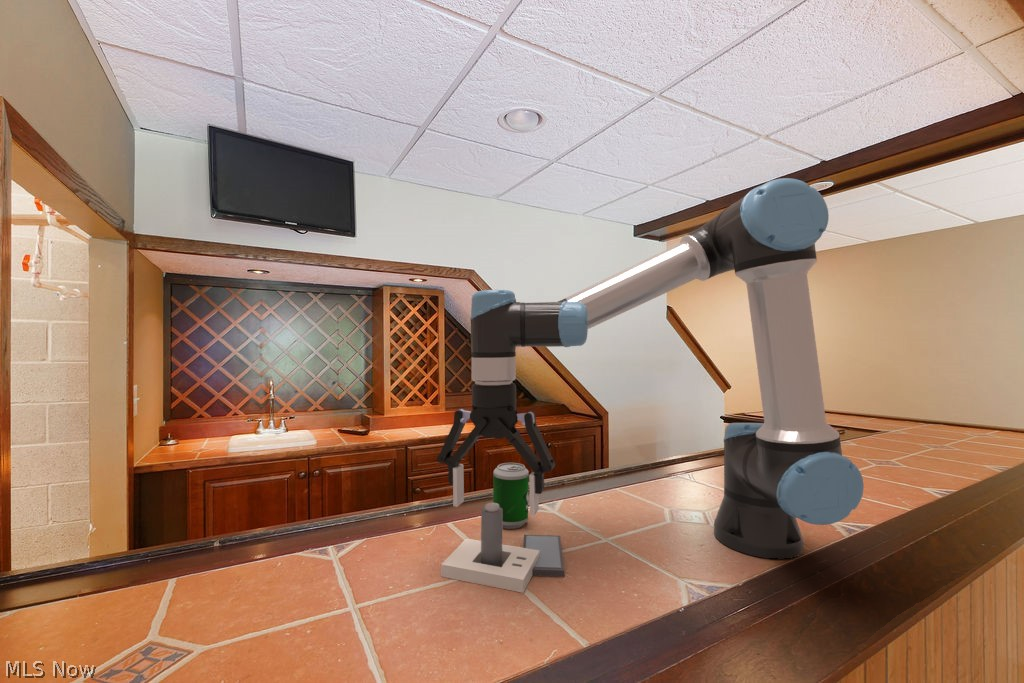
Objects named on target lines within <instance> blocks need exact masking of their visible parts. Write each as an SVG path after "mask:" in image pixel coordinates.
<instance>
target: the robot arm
mask: <svg viewBox="0 0 1024 683" xmlns="http://www.w3.org/2000/svg"><path fill="white" fill-rule="evenodd" d="M829 215H830V214H829V209H828V205H827V203H826V201H825V198H824V197H823V195H822V194H821V193H820V192H819V191H818V190H817V189H816V188H815V187H814V186H810V185H809V184H807V182H805V181H804V180H799V179H796V178H789V177H785V178H784V177H782V178H775V179H773V180H770V181H767V182H765V183H764V184H761V185H759V186H757V187H754V188H753V189H751V190H750V191H748V193H747V194H746V195H744V196H742V197H741V198H740V199H738V200H737V201H736V202H734V203H732V204H731V205H729V206H728V207H726V208H724V209H723V210H722V211H720V213H718V214H717V215H716V216H714V217H713V218H711V219H710V220H709V221H707V222H706V223H705V224H703V225H702V226H700V227H699V228H697V229H695V230H693V231H691V232H690V233H687V234H685V235H683V236H682V237H681V239H680V241H679V244H676V245H674V246H672V247H669V248H667V249H666V250H664V251H661V252H659V253H658V254H655V255H652V256H651V257H649V258H646V259H644V260H642V261H640V262H639V263H636V264H634V265H632V266H630V267H628V268H626V269H623V270H621V271H619V272H617V273H616V274H613V275H611V276H609V277H607V278H605V279H603V280H601V281H599V282H596V283H595V284H592V285H590V286H588V287H585V288H584V289H581V290H580V291H578V292H575V293H573V294H571V295H569V296H567V297H565V298H563V299H560V300H558V301H547V302H546V301H544V302H542V301H541V302H521V301H517V299H516V296H515V295H516V294H515V292H514V291H512V290H506V289H484V290H478V291H476V292H474V294H473V295H472V297H471V307H470V308H471V310H470V318H469V319H470V346H471V351H470V352H471V354H470V355H471V381H473V382H474V383H473V384H472V385H471V407H472V409H471V411H470V410H467V409H466V408H461V409H458V410H455V411H454V415H453V416H454V417H453V423H452V427H451V428H450V430H449V432H448V435H447V437H446V439H445V441H444V444H443V446H442V448H441V450H440V452H439V455H438V457H437V461H438V462H439V463H440V464H442V463H443V464H444V465H446V466H447V468H448V471H447V472H448V485H450V486H452V490H453V491H452V494H453V495H452V501H453V502H452V504H453V507H456V508H457V507H459V506H460V505H462V503H464V502H465V488H464V486H465V485H464V484H465V482H464V480H465V478H464V477H465V476H464V475H465V474H464V473H465V470H464V464H462V463H461V460H462V459H463V458H464V457H465V456H466V454H467V453H468V452H469V451H470V449H471V448H472V447H473V446H474V444H475V443H476V442H477V441H478V440H479V438H480V437H483V438H484V439H491V438H494V439H496V440H502V439H504V438H505V439H506V441H508V442H509V443H510V444H511V445H512V446H513V447H514V449H515V450H516V451H517V453H518V454H519V455H520V456H521V458H522V459H523V461H525V463H526V464H527V466H528V467H529V468H530V470H531V471H532V472H530V474H529V487H528V488H529V516H535V515H536V514H537V513H538V511H539V508H540V506H539V504H540V503H539V495H541V494H543V491H544V490H545V473H547V472H548V473H550V472H551V471H553V469H554V468H555V466H556V462H555V460H554V458H553V456H552V454H551V452H550V450H549V448H548V445H547V444H546V442H545V440H544V438H543V435H542V433H541V431H540V429H539V427H538V425H537V419H536V413H535V411H533V410H530V411H528V412H523V413H519V412H518V410H517V385H516V383H514V382H513V381H515V380H516V379H517V377H516V376H517V370H516V368H517V363H516V361H517V357H516V356H517V355H516V354H517V352H516V350H517V348H518V347H521V348H522V347H524V348H525V347H533V348H534V347H535V348H536V347H539V348H540V347H541V348H546V347H553V348H554V347H557V348H558V347H559V348H560V347H564V348H570V347H579V346H580V347H581V346H583V345H585V343H586V342H587V338H588V332H589V331H588V330H589V329H591V328H593V327H596V326H598V325H600V324H602V323H604V322H606V321H608V320H610V319H613V318H615V317H617V316H619V315H622V314H624V313H626V312H627V311H630V310H632V309H634V308H636V307H638V306H641V305H643V304H645V303H648V302H650V301H652V300H653V299H656V298H658V297H660V296H662V295H665V294H666V293H668V292H671V291H674V290H675V289H678V288H679V287H681V286H684V285H686V284H688V283H690V282H692V281H695V280H699V281H701V282H702V281H707V280H709V279H711V278H714V277H715V276H718V275H721V274H725V273H727V272H730V271H734V274H735V276H736V277H737V278H738V279H740V280H741V281H744V283H745V284H746V291H747V299H748V304H749V305H748V307H749V313H750V322H751V329H752V330H751V331H752V338H753V344H754V351H755V352H754V353H755V360H756V361H755V362H756V366H757V368H756V369H757V376H758V383H759V389H760V398H761V405H762V406H761V407H762V414H763V421H764V422H730V423H728V424H727V425H726V427H725V430H724V437H723V446H724V447H723V452H724V453H723V454H724V456H723V464H724V465H723V470H724V471H723V486H724V487H723V498H722V500H721V504H720V506H719V508H718V511H717V514H716V516H715V518H714V522H713V534H714V537H715V538H716V539H717V540H718V541H719V542H720V543H722V545H725V546H727V547H728V548H731V549H732V550H734V551H738V552H740V553H742V554H746V555H750V556H752V557H753V556H754V557H758V558H764V559H769V558H778V559H777V560H782V559H781V558H791V557H795V558H797V557H796V556H798V555H800V554H801V553H802V551H803V552H804V538H803V536H802V532H801V530H800V526H799V524H798V520H800V521H802V522H805V523H806V524H811V525H817V526H826V525H828V526H829V525H832V524H836V523H838V522H841V521H843V520H844V519H846V518H848V517H849V516H850V514H851V512H852V511H853V510H856V509H857V507H858V506H859V505H860V503H861V501H862V498H863V494H864V488H865V486H864V485H865V484H864V479H863V476H862V473H861V471H860V469H859V468H858V466H857V465H856V464H854V463H853V461H852V460H851V459H849V457H847V456H844V455H843V450H842V444H841V437H840V436H841V435H840V433H839V431H838V430H837V429H835V428H834V427H833V426H831V425H830V424H829V423H827V419H826V412H825V403H824V396H823V394H824V393H823V389H822V382H821V380H822V379H821V373H820V365H819V358H818V349H817V348H818V347H817V342H816V341H817V340H816V334H815V327H814V318H813V312H812V303H811V302H812V301H811V297H810V294H811V293H810V289H809V281H808V273H809V271H810V270H811V269H812V268H813V267H814V265H815V264H816V263H817V262H818V260H817V259H818V258H817V251H816V250H817V249H816V243H817V241H818V240H820V239H821V238H822V236H823V234H824V232H825V231H826V229H827V228H828V224H829ZM469 419H470V422H472V424H473V425H474V427H473V429H472V430H470V431H471V432H469V433H468V436H467V437H466V439H465V440H464V441H462V443H461V445H459V446H458V448H457V449H456V451H455V452H454V450H455V447H456V446H457V443H458V440H459V438H460V436H461V434H462V432H463V430H464V427H465V425H466V423H468V421H469ZM518 422H520V424H521V425H522V426H523V427H525V430H526V432H527V435H528V437H529V439H530V441H531V443H532V445H533V447H534V449H535V452H536V453H535V452H534V451H533V449H532V448H531V447H530V446H529V444H528V443H527V441H526V440H525V439H524V437H522V435H521V433H520V431H519V429H517V427H516V425H517V423H518ZM453 452H454V453H453ZM797 519H798V520H797ZM802 554H803V553H802ZM802 554H801V555H802ZM801 555H800V556H801ZM798 557H799V556H798ZM791 559H792V558H791Z"/></svg>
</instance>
